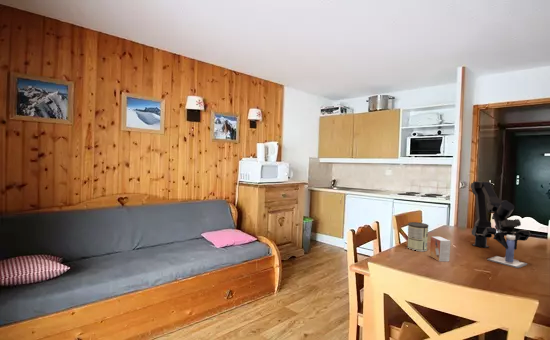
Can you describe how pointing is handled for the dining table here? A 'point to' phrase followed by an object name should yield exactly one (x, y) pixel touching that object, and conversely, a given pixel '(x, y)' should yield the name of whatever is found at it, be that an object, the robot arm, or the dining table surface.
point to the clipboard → (502, 261)
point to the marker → (510, 248)
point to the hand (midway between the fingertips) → (511, 248)
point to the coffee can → (417, 236)
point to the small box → (440, 248)
